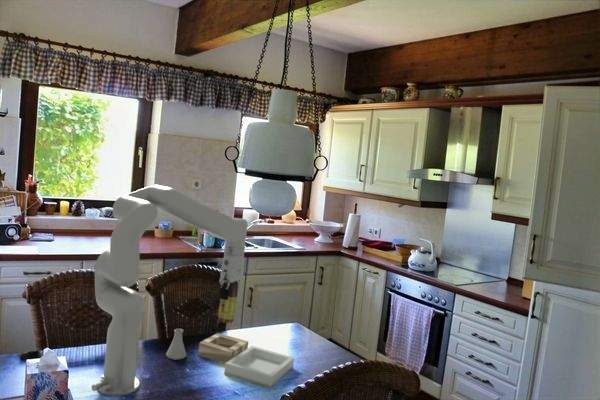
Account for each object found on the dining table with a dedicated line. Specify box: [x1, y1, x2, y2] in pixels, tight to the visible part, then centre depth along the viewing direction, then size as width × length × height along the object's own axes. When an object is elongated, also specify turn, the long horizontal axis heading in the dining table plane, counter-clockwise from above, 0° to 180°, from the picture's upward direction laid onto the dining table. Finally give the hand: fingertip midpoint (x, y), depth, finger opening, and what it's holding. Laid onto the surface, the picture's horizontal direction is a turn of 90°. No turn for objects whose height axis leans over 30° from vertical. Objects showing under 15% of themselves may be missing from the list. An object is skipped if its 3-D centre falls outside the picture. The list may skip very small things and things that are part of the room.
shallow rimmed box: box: [197, 332, 249, 364], centre depth 192 cm, size 13×14×5 cm
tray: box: [224, 345, 295, 389], centre depth 181 cm, size 20×18×4 cm
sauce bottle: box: [217, 279, 239, 324], centre depth 190 cm, size 6×6×20 cm
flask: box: [165, 328, 188, 360], centre depth 185 cm, size 7×7×10 cm
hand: (228, 296), depth 190 cm, fingers closed on sauce bottle, 6 cm apart
